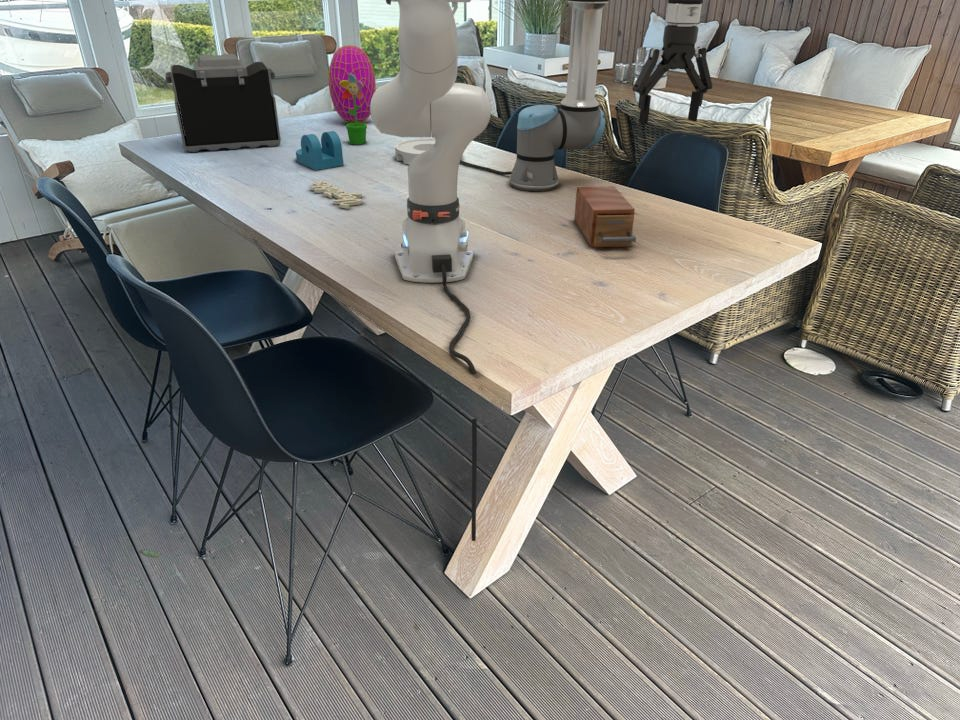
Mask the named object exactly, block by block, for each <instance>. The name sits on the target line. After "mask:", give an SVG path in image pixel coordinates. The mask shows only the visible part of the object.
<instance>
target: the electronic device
mask: <svg viewBox="0 0 960 720" xmlns="http://www.w3.org/2000/svg"><path fill="white" fill-rule="evenodd" d="M197 58H198V59H197V60H195V61H193V67H194V69H193V68H189V67H187V66H184V65H181V64H171V65H170V71H167V72H165V74H164V75H165V82H166V84H171V85H172V90H173V94H174V106H175V107H174V108H175V111H176V112H175V113H176V116H177V121H178V126H179V131H180V136H181V141H182V146H183V149H184V150H185V151H186V152H187V153H188V152H189V153H199V152H200V151H202V150H203V151H204V150H207V151H210V152H214V151H219V150H220V149H228V150H239V149H240V148H245V147H247V148H250V149H255V148H258V147H260V146H267V147H277V146H279V145H281V141H282V139H281V131H280V125H279V117H278V109H277V102H276V97H275V95H274V89H273V81H272V80H273V79H276V73H275V71H274V70H273V69H272V68H270V67H268V66H266V64H265V63H264V62H263V61H255V62H253V63H251V64H249V65H247V66H246V65H245V63H244V62H243V60H241V59H239V58H238V57H237V55H236V54H235V53H222V54H218V55H215V54H213V55H212V54H198V57H197Z"/></svg>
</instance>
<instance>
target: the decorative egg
mask: <svg viewBox="0 0 960 720" xmlns="http://www.w3.org/2000/svg"><path fill="white" fill-rule="evenodd" d="M348 73H350V74H352V75H354V76H355V78H356V83H357V82H358V81H361V82H362V84H363V89H361V90H360V91H361V92H362V93H363V98H362V100H359V99H358V98H357V97H356V95H355V103H356V106H359V109H358V110H356V116H357V123H364V122H365V121H366V120H368V118H369V117H371V114H370V103H371V99H372V97H373V94H374V93H375V91H376V90H377V83H376V82H377V81H376V75H375V71H374V68H373V63H372V62H371V60H370V57H369V56H368V54H367V53H366V51H365V50H363V48H361V47H359V46H357V45H353V44H352V45H351V44H348V45H343V46H340V47H338V48H337V49H336V51H334V53H333V56H332V57H331V61H330V63H329V69H328V90H329V96H330V99H331V103H332V105H333V108H334V110H335V111H336V113H337V114H338V116H339V118H341V119H342V120H343V121H344V122H346V123H348V124H349V123H355V115H351V114H349V112H348V111H349V110H354V100H353V95H352V96H351V97H350V98H348V99H341V97H342V94H343V93H344V91H345V90H347V89H346V88H343V87H342V86H341V85H340V84H339V83H340V82H341V81H342V80H346V81H349V78H348Z"/></svg>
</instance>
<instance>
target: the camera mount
mask: <svg viewBox="0 0 960 720" xmlns="http://www.w3.org/2000/svg"><path fill="white" fill-rule="evenodd" d="M343 155H344V154H343V145H342V140H341V137H340V136H339V134H338V133H337V131H334V130H330V131H324V132H322V133H321V137H320V139H319V137H318V136H317V134H314V133H310V134H309V133H308V134H304V135H302V136H301V137H300V148H298V149H296V151H295V157H296V162H297V163H299V164H301V165H303V166H305V167H308V168H309V169H312V170H314V171H319V170H324V169H330V168H336V167H342V166H344V156H343Z"/></svg>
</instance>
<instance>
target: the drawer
mask: <svg viewBox="0 0 960 720" xmlns="http://www.w3.org/2000/svg"><path fill="white" fill-rule="evenodd" d="M634 221H635V214H634V215H627V214H597V215H596V225H595V235H594V246H595V247H594V248H597V247H596V246H630V247H631V245H632V243H635V242H636V241H637V238H636V236H633V229H634V223H635V222H634Z"/></svg>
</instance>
